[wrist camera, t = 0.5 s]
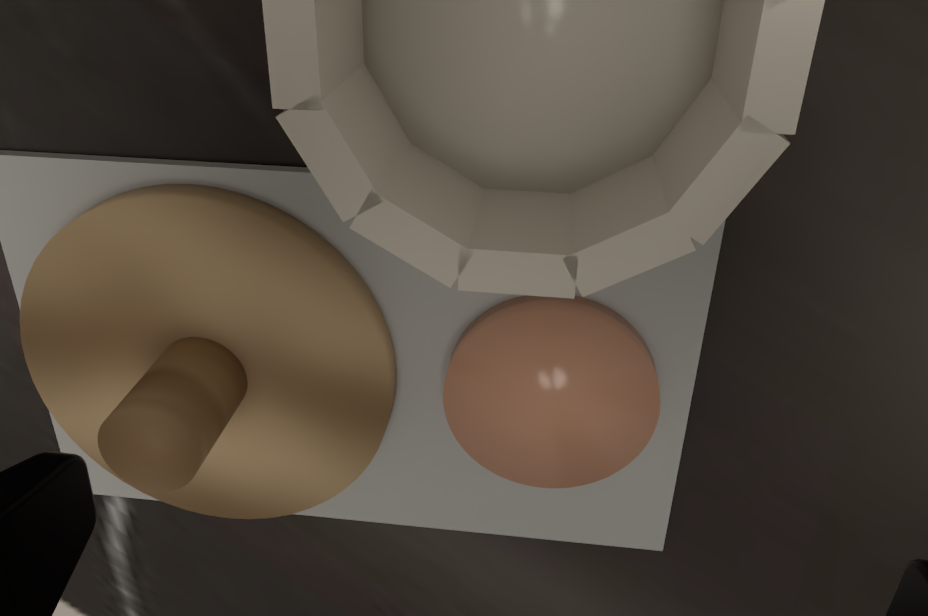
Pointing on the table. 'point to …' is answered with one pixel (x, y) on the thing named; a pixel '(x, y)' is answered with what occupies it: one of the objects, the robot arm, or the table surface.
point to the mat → (411, 357)
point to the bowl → (538, 126)
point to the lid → (209, 351)
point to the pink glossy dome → (552, 391)
